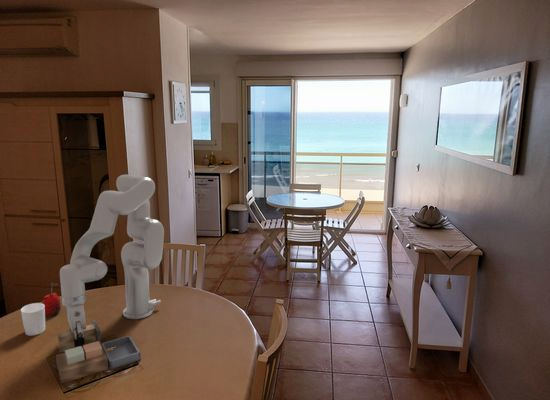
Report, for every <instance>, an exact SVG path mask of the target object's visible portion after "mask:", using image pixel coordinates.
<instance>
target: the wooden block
mask: <svg viewBox="0 0 550 400" xmlns="http://www.w3.org/2000/svg"><path fill="white" fill-rule="evenodd" d="M101 343H102V342H101ZM101 343H100V345H101ZM101 347H102V345H101ZM82 349H83V347H82ZM84 358H85V360H83V361H79V362H76V363H73V364H69V365H68V364H67V360H66V357H65V352H61V353H59V354H55V360H56V368H57V371H58V375H59V379H60V383H61V384H65V383H67V382H71V381H74V380H78V379H80V378H83V377H87V376H89V375H93V374H96V373H100V372H102V371H103V372H104V371H106V370H109V365H108V358H107V356H106V354H105V352H104V350H103V347H102V355H99V356H96V357H93V358H89V359H86V357H85V355H84Z"/></svg>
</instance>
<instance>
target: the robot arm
mask: <svg viewBox="0 0 550 400" xmlns="http://www.w3.org/2000/svg"><path fill="white" fill-rule="evenodd" d="M115 185H116V188H117V190H104V191H102V192H101V193H100V194H99V196H98V199H97V202H96V205H95V209H94V213H93V216H92V218H91V219H92V220H91V222H90V225H89V226H90V227H89V228H88V230H87V231H85V233H84V234H83V235H82V236H81V237H80V238H79V239H78V241H77V242H76V243H75V246H74V248H73V250H72V253H71V257H70V262H69V264H65V265H64V266H62V267H60V270H59V280H60V281H59V282H60V291H61V301H62V302H61V303H62V306H64V307H65V308H66V315H67V316H66V317H67V323H68V325H69V330H71V331H72V332H73V333H74V336H75V339H74V345H75V348H76V347H79V346H82V348H83V345H85V342H84V335H83V330H84V329H85V330H86V326H87V321H86V313H85V306H84V303H86V298H87V297H86V286H85V283H90V282H95V281H99V280H102V279H103V278H104V277H105V276H106V274H107V272H108V266H107V264H106V262H104V261H102V260H100V259H96V258H94V257H91V256H90V255H91V252H92V249H93V248H94V246H95V245H97V243H98V242H100V241H101V240H103V239H106V238H109V237H111V236H113V234H114V233H115V228H116V225H117V222H118V218H119V215H121V216H127V221H126V222H127V223H126V233H127V235H128V237H129V238H131V239H135V240H138V241H129V242H127V243H125V244H124V245H123V246H122V248H121V251H120V257H121V263H122V265H123V271H124V288H125V305H126V307H125V308H124V309H123V310H122V316H123V317H124V318H126V319H129V320H139V319H144V318H148V317H150V316H151V315H152V314H154V311H155V310H154V309H155V308H154V307H155V306H160V305H162V302H161V299H158V300H157V299H156V298H154V299H150V282H149V281H150V280H149V279H150V278H149V275H150V274H149V270H154V269H156V268H157V267H159V265H160V264H161V261H162V259H163V251H164V250H163V249H164V240H165V229H164V225H163V224H162V222H161V221H159V220H158V219H154V218H151V213H150V212H151V204H150V200H149V199H151V198H152V196H153V195H154V194H155V191H156V184H155V181H154V180H153V179H152V178H150V177H147V176H141V175H134V174H122V175H119V176H118V177H117V178H116V182H115ZM139 241H142V242H139ZM75 329H77V330H75ZM76 332H78V334H77V335H76Z"/></svg>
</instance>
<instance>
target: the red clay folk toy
mask: <svg viewBox="0 0 550 400" xmlns="http://www.w3.org/2000/svg"><path fill="white" fill-rule="evenodd" d="M54 283H55V282H54V281H53V282H52V283H50V285H51V289H50V294H47V295H44V296H43V299H42V302H41V303H42V304H44V305H45V317H54V316H57V315H58V314H59V312H60V311H61V308H62V305H61V300H60V297H59V296H58V294H57V293H56V292H53V288H54V286H58V283H55V284H54Z"/></svg>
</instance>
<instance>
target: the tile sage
mask: <svg viewBox="0 0 550 400" xmlns="http://www.w3.org/2000/svg"><path fill="white" fill-rule="evenodd" d="M82 348H83V347H82V346H79V347H76V348H72V349H68V350H65V351H64V353H65V357H66V360H67V364H68V365H69V364H73V363H76V362H79V361H83V360H85V358H84V351H83V349H82Z"/></svg>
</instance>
